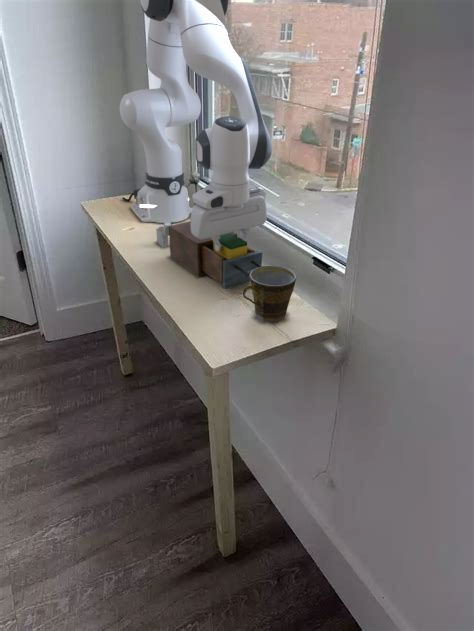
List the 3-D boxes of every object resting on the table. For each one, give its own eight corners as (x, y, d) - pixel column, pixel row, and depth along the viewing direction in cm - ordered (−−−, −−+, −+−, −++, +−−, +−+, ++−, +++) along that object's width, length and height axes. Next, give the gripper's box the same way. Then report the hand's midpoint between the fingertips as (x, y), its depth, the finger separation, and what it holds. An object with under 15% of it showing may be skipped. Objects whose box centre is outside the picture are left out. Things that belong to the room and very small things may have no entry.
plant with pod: (221, 237, 153) (221, 170, 143) (185, 242, 150) (182, 174, 140) (212, 228, 160) (212, 163, 150) (177, 232, 156) (175, 166, 146)
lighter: (156, 242, 149) (155, 216, 145) (162, 241, 150) (160, 215, 146) (167, 251, 144) (166, 224, 140) (173, 249, 145) (171, 223, 141)
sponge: (230, 261, 122) (230, 246, 120) (213, 251, 127) (213, 237, 126) (247, 256, 125) (247, 242, 123) (229, 246, 130) (229, 232, 128)
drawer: (275, 287, 124) (277, 260, 120) (239, 299, 118) (239, 271, 114) (230, 260, 137) (230, 234, 133) (195, 270, 132) (195, 243, 128)
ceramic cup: (273, 300, 120) (275, 261, 115) (302, 318, 113) (306, 277, 108) (228, 316, 113) (229, 276, 108) (256, 336, 106) (258, 294, 101)
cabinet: (236, 265, 136) (237, 233, 132) (198, 276, 130) (197, 243, 126) (207, 247, 146) (206, 217, 142) (170, 257, 140) (168, 226, 136)
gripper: (257, 182, 126) (255, 235, 133) (186, 196, 115) (188, 252, 122) (273, 188, 121) (270, 243, 128) (200, 203, 111) (202, 261, 118)
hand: (229, 247), depth 125 cm, fingers closed on sponge, 5 cm apart
